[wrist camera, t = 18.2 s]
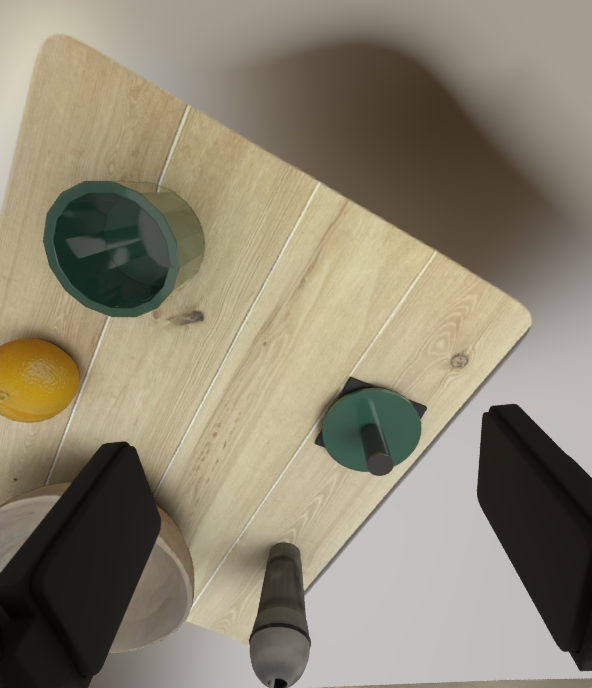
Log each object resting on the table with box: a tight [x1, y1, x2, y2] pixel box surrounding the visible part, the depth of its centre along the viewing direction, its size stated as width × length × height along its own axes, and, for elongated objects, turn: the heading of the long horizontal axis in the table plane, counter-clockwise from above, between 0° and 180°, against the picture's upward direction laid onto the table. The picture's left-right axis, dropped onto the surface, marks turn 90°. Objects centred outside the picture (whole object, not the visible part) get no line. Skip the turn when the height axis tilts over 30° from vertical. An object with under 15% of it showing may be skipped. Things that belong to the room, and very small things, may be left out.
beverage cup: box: [249, 543, 311, 688], centre depth 45 cm, size 7×7×20 cm
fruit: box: [0, 338, 80, 423], centre depth 39 cm, size 9×8×8 cm
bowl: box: [0, 482, 194, 653], centre depth 47 cm, size 26×26×10 cm
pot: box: [43, 181, 205, 317], centre depth 33 cm, size 11×11×8 cm
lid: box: [322, 388, 421, 476], centre depth 42 cm, size 12×12×7 cm
